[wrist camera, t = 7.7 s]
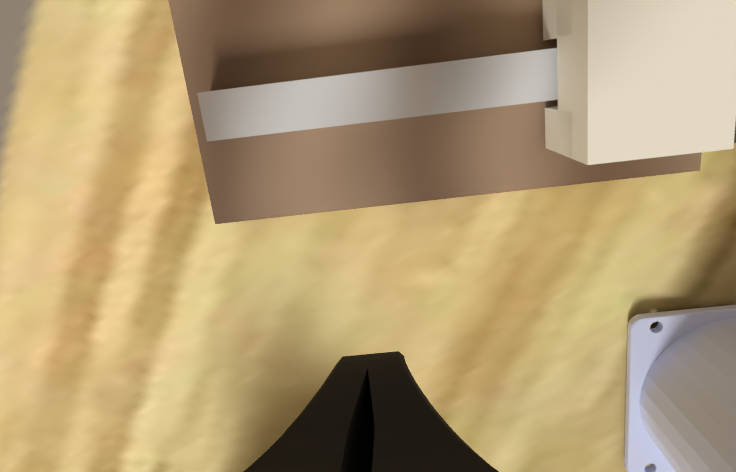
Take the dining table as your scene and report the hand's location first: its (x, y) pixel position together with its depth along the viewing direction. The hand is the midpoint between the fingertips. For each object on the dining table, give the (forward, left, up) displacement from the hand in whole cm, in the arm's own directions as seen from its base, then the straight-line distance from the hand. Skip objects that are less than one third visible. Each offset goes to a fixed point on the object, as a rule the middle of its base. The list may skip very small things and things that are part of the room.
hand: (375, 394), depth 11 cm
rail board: (-3, -6, -10) cm, 12 cm away
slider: (-8, -6, -9) cm, 14 cm away
